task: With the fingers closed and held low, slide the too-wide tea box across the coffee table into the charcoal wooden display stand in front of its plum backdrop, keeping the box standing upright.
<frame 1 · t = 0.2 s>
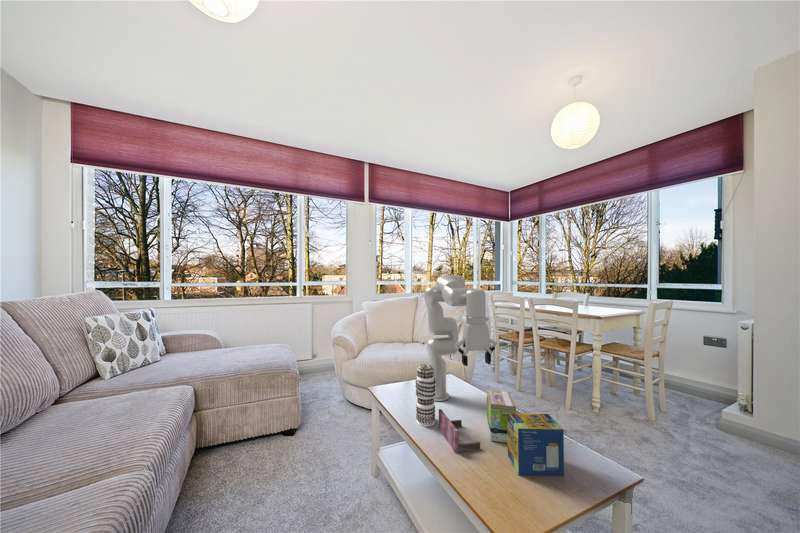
hand: (476, 364, 114), 31 cm above the table, fingers open, 9 cm apart
decorative candle: (425, 421, 131), on the table
protein box: (534, 466, 100), on the table
tea box: (500, 433, 121), on the table
display stand: (465, 437, 118), on the table
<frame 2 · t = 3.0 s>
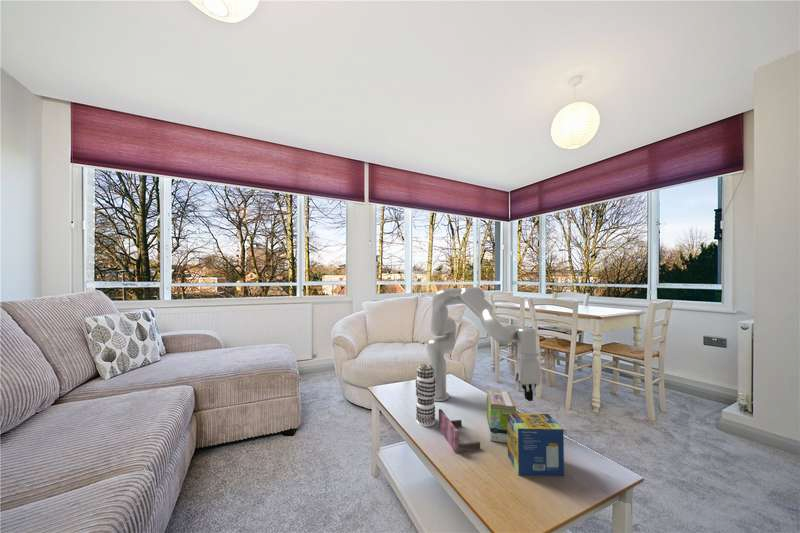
hand: (528, 399, 124), 13 cm above the table, fingers closed
nothing on the table moved.
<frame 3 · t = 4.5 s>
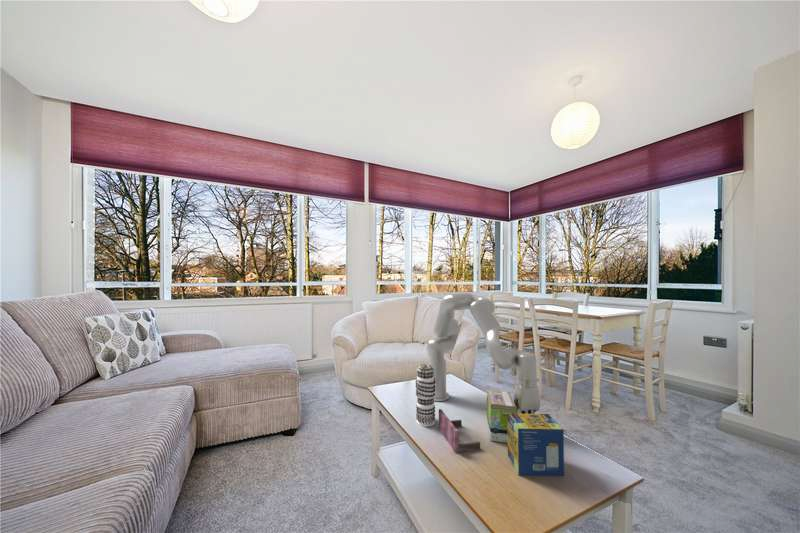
hand: (527, 425, 124), 2 cm above the table, fingers closed
nothing on the table moved.
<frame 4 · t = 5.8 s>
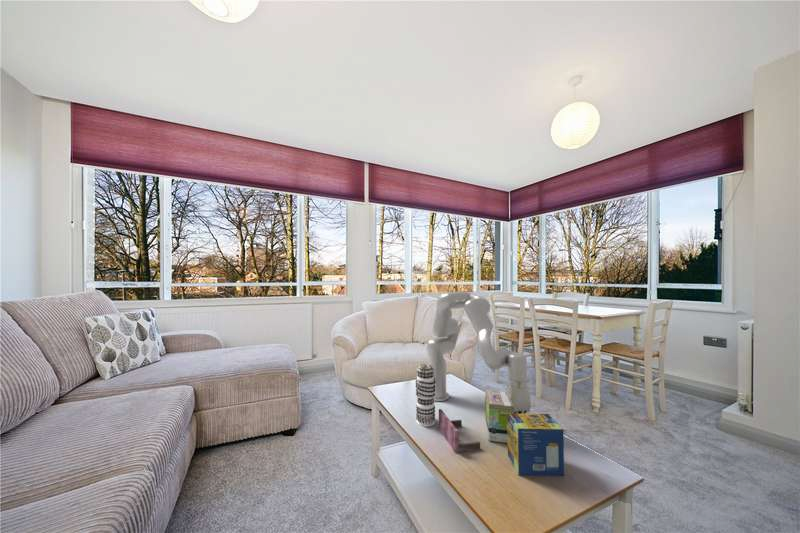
hand: (518, 426, 123), 2 cm above the table, fingers closed
tea box: (499, 433, 121), on the table, touching gripper
everything else where it was.
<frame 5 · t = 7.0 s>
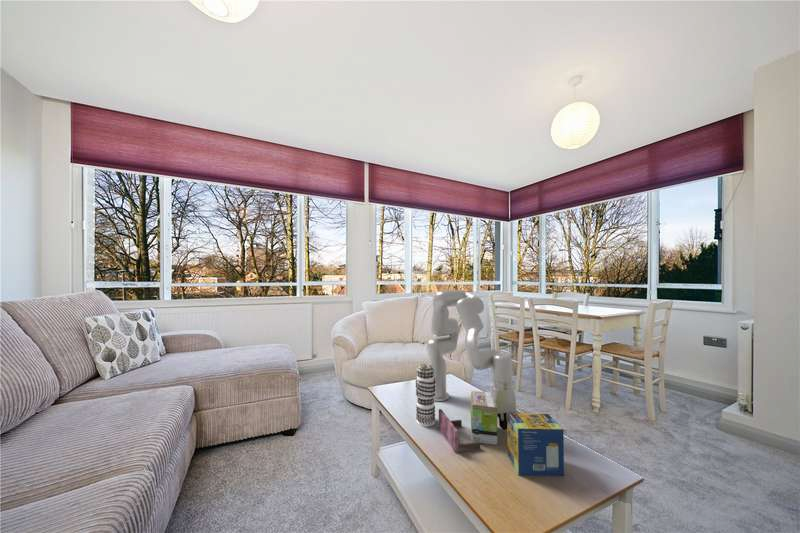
hand: (503, 428, 121), 2 cm above the table, fingers closed
tea box: (483, 434, 120), on the table
everything else where it was.
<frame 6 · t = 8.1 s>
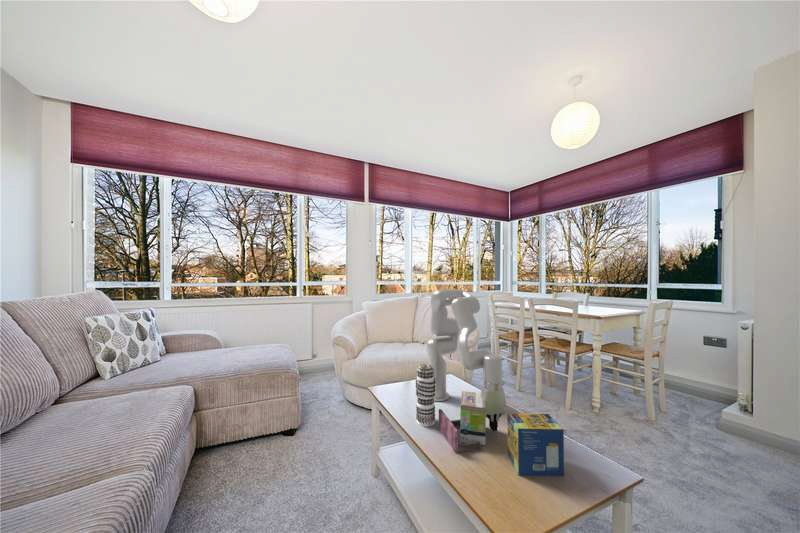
hand: (493, 429, 120), 2 cm above the table, fingers closed
tea box: (473, 434, 120), on the table, touching gripper
everything else where it was.
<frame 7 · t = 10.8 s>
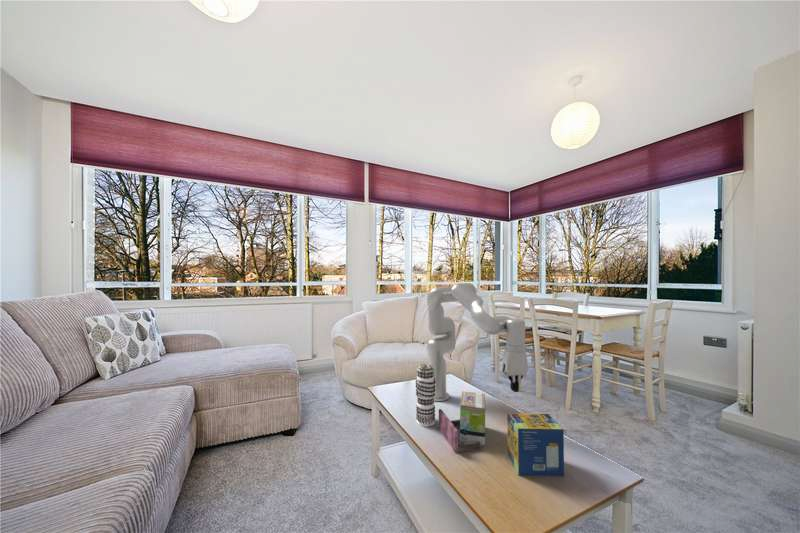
hand: (514, 390, 124), 17 cm above the table, fingers closed
tea box: (473, 434, 120), on the table
everything else where it was.
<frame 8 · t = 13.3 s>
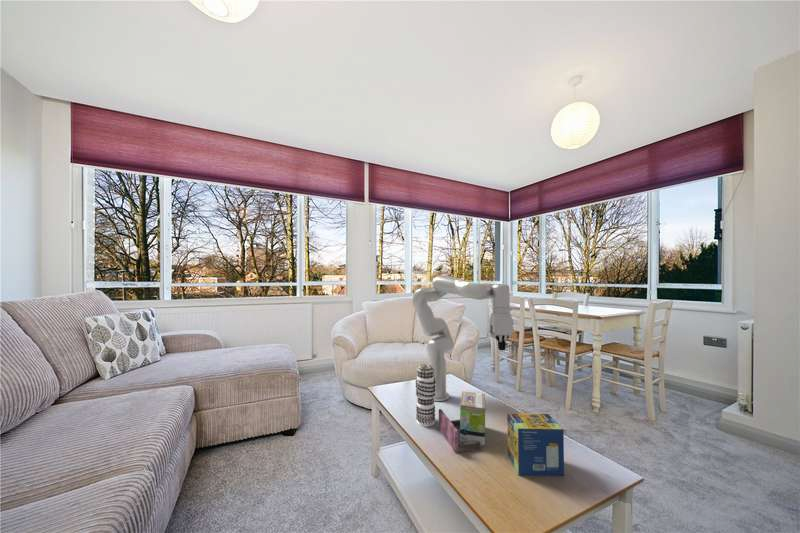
hand: (501, 349, 135), 31 cm above the table, fingers closed
nothing on the table moved.
at the end: tea box inside the target area on the display stand (2.5 cm from its centre), point 0.0 cm above the display stand's base; tea box tilted 0°; tea box moved 12.0 cm from its start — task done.
